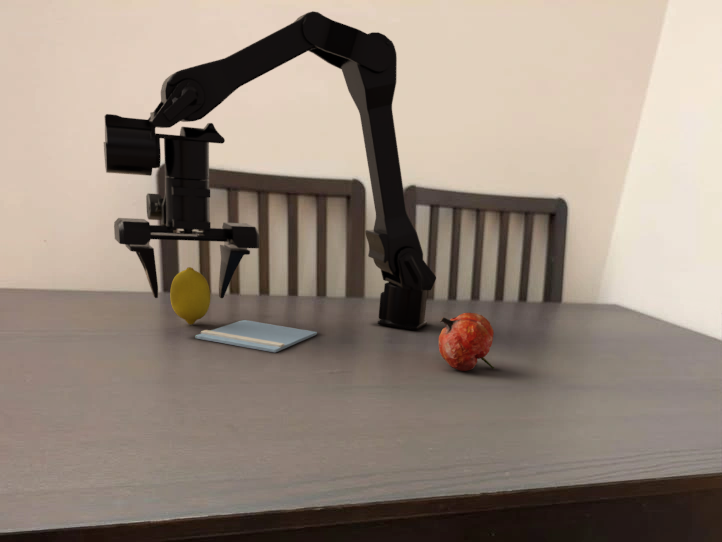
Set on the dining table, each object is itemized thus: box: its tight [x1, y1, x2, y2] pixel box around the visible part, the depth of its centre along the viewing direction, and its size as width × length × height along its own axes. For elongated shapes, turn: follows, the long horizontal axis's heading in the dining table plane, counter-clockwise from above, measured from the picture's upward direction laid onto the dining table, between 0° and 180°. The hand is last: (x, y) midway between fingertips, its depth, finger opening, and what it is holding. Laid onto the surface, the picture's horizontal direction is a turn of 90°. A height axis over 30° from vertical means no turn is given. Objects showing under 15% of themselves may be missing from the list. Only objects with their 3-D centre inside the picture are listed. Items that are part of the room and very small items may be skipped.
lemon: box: [169, 266, 211, 325], centre depth 103 cm, size 6×6×8 cm
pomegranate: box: [438, 312, 495, 372], centre depth 93 cm, size 7×7×10 cm
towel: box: [194, 319, 318, 354], centre depth 101 cm, size 12×13×1 cm
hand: (189, 297), depth 103 cm, fingers open, 9 cm apart
